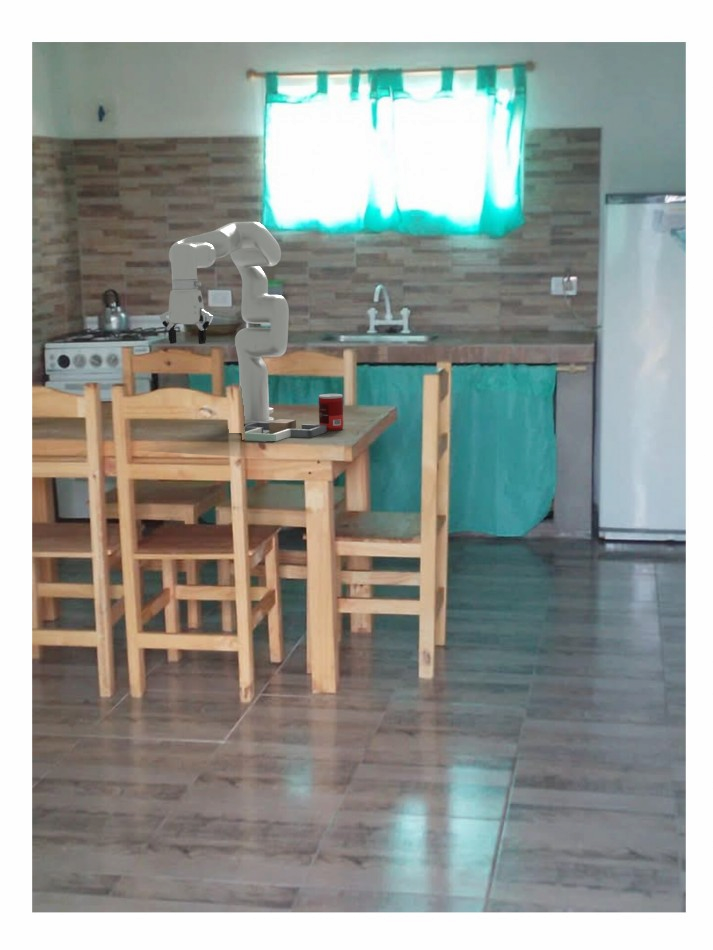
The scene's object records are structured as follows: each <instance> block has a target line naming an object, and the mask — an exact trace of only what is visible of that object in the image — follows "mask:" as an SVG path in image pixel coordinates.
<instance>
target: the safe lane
mask: <svg viewBox="0 0 713 950" xmlns="http://www.w3.org/2000/svg"><path fill="white" fill-rule="evenodd" d="M245 437H246V440H245V441H247V442H249V441H250V442H251V441H253V442H266V441H275V442H278V441H282V440H284V439H286V438H290V437H292V436H291V429H286V430H283V431H280V432H277V433H274V434H269V433H266V434H263V433H262V428H256V429H252V430H249V431H246V432H245Z"/></svg>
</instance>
